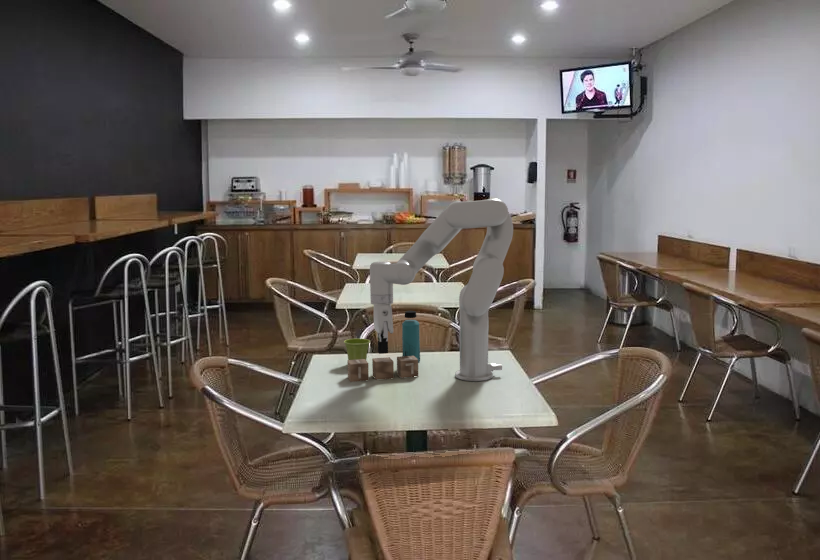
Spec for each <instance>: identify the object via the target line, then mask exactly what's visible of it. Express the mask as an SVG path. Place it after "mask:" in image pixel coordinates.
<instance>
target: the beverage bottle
mask: <svg viewBox="0 0 820 560" xmlns="http://www.w3.org/2000/svg"><path fill="white" fill-rule="evenodd" d="M404 318H406V320H404V321H403V322H402V323H401V328H402V330H401V331H402V332H401V334H402V335H401V341H402V347H401V348H402V349H401V350H402V356H415V357H416V358H417V359H418V364H420V362H421V344H420V343H421V342H420V325H421V324H420V322H419V321H418V320H416V319H415V318H417V311H415V310H406V311H405V312H404Z"/></svg>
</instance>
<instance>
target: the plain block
mask: <svg viewBox="0 0 820 560" xmlns="http://www.w3.org/2000/svg"><path fill="white" fill-rule="evenodd" d="M371 360H372V362H371V363H372V365H371V366H372V376H374V377H375V378H374V377H373V378H374V379H375V380H376V381H378V380H377V379H383V380H392V379H391V378H394V377H395V376H394V367H395V366H394V362H395V361H394V360H393V359H392V358H391V357H389V356H387V357H376V358H372V359H371Z"/></svg>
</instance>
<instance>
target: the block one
mask: <svg viewBox="0 0 820 560" xmlns="http://www.w3.org/2000/svg"><path fill="white" fill-rule="evenodd" d="M369 374H370V373H369V362H368V361H367V358H366V359H357V360H348V359H347V378H348V380H349V381H350V383H355V382H366V380H369V378H370V377H369ZM369 381H370V380H369Z"/></svg>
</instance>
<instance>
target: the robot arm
mask: <svg viewBox="0 0 820 560" xmlns="http://www.w3.org/2000/svg"><path fill="white" fill-rule="evenodd" d="M475 228H476V229H477V228H486V234H485V236H484V239H483V242H482V244H481V247H480V250H479V251H478V254H477V256H476V258H475V260H474V262H473V265H472V272H471V275H470V277H469V280H468V282H467V284H465V285H464V286H463V287H462V288H461V290H460V292H459V296H458V297H459V298H458V303H459V304H458V305H459V308H458V309H459V370H457V371H455V372H454V373H455V374H454V375H455V378H456V379H459V380H461V381H466V382H467V381H468V382H482V381H488V380H491V379H492V378H493V376H494V373H493V372H494V371H502V370H503V365H502V363H501V364H496V363H490V362H489V309H490V308H491V306H492V303H493V301H494V300H495V298H496V295H497V293H498V290H499V287H500V285H501V282H502V280H503V277H504V274H505V273H504V272H505V268H504V261H505V259H506V256H507V254H508V251H509V248H510V245H511V243H512V240H513V235H514V224H513V219H512V216H511V214H510V212H509V208H508V205H507V204H506V203H505V202H504V201H503V200H501V199H498V198H493V197H492V198H488V199H482V200H481V199H480V200H470V201H459V200H458V201H457V200H456V201H452V202H450V204H448V205H447V206H446V207H445V209H443V211H442V212H441V213H440V214H438V216H437V217H436V218H435V219H434V220H433V221H432V222H431V223H430V225H429V226H428V227H427V228H425V230H424V231H423V232H422V233H421V234H420V236H418V238H417V240H416V241H415V242H414V243H413V245H411V247H410V248H409V249H408V250H407V251H406V252H405V253H404V254H403V255H402V257H401V258H400V259H398V261H397V262H396V263H391V262H389V261H374V262H371V264H370V266H369V283H370V285H369V288H370V289H369V290H370V292H369V293H370V294H369V295H370V304H371V305H373V329H374V330H375V331H376V333H377V334H376V335H377V353H378V354H379V355H380V354H381V355H382V354H383V355H384V354H388V353H389V341H388V339H389V336H388V335H389V333H390V334H394V322H393V320H394V319H393V309H392V305H393V304H394V285H401V286H403V285H404V286H405V285H406V286H407V285H410V284H411V283H412V282H413V281H414V280H415V278H416V274H417V273H419V272H420V270H421V269H422V268H423V267H424V266H425V265H426V264H427V263H428V262H429V261H430V260H431V259H432V258H433V257H434V256H436V255H438V254H439V253H441V252H442V251H443V250H444V249H445V248H446V247H447V246H448V245H449V244H450V243H451V242H452V240H453V239H454V238H455V237H456V236H457V235H458V234H459V232H460V231H462V230H463V229H475Z"/></svg>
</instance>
